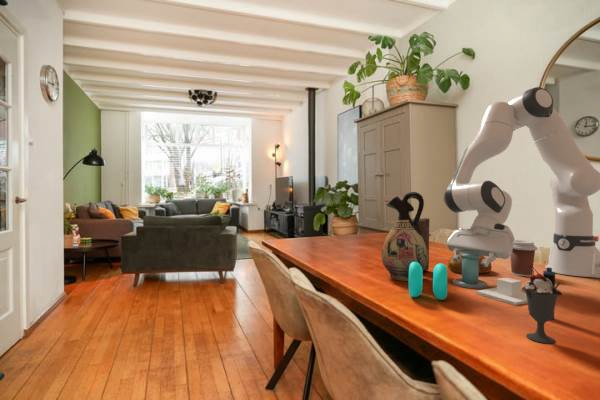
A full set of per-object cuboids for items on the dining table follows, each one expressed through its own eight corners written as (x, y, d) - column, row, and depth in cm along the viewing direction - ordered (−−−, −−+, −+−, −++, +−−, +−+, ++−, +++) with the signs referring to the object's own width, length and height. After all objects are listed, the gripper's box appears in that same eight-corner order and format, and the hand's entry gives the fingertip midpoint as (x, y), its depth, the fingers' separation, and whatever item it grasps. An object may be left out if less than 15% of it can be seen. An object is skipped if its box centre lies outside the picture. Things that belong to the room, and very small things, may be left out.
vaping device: (550, 320, 83) (551, 269, 83) (527, 313, 88) (528, 265, 88) (557, 318, 85) (558, 268, 84) (533, 312, 89) (534, 264, 89)
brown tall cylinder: (430, 273, 131) (430, 219, 130) (409, 272, 132) (409, 218, 132) (427, 269, 138) (427, 217, 138) (407, 268, 140) (407, 217, 139)
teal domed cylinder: (468, 279, 119) (469, 252, 119) (483, 283, 114) (483, 255, 114) (457, 281, 117) (457, 253, 117) (471, 285, 112) (471, 256, 112)
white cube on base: (503, 288, 110) (503, 273, 110) (543, 299, 100) (544, 282, 99) (476, 293, 105) (476, 277, 105) (515, 305, 94) (515, 287, 94)
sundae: (513, 332, 76) (514, 262, 76) (543, 331, 77) (544, 262, 76) (536, 346, 70) (538, 269, 69) (568, 345, 70) (570, 269, 70)
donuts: (447, 305, 95) (447, 267, 95) (408, 301, 98) (408, 264, 98) (445, 294, 104) (446, 260, 104) (410, 291, 108) (410, 258, 108)
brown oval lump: (496, 281, 129) (500, 259, 129) (453, 274, 130) (457, 253, 129) (478, 271, 144) (481, 251, 143) (439, 265, 144) (442, 245, 144)
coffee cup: (504, 274, 129) (504, 241, 129) (510, 270, 136) (511, 239, 136) (534, 278, 123) (534, 244, 123) (539, 274, 130) (539, 241, 129)
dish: (467, 279, 122) (467, 277, 122) (494, 286, 113) (494, 284, 113) (446, 282, 118) (446, 280, 118) (472, 290, 109) (472, 287, 109)
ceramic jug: (377, 281, 120) (378, 191, 119) (384, 271, 134) (385, 191, 133) (431, 286, 113) (432, 192, 113) (433, 275, 128) (434, 191, 127)
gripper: (452, 222, 128) (436, 252, 122) (514, 227, 111) (498, 262, 105) (459, 233, 130) (443, 263, 125) (520, 240, 114) (505, 274, 108)
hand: (469, 263), depth 115 cm, fingers open, 8 cm apart
